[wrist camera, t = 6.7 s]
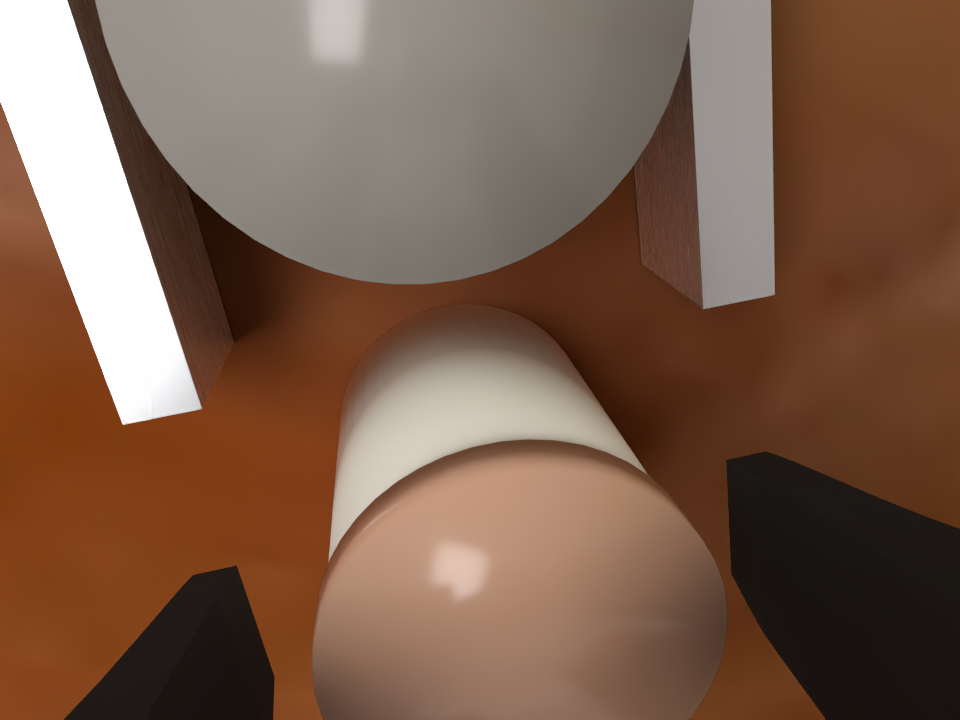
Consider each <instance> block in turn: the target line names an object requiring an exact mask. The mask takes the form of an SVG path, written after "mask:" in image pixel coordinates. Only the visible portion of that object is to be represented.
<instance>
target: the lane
mask: <svg viewBox="0 0 960 720" xmlns="http://www.w3.org/2000/svg"><path fill="white" fill-rule="evenodd" d="M0 101H1V103H2V106H3V108H4V111H5V114H6V116H7V119H8V122H9V124H10V127H11V130H12V132H13V135H14V138H15V140H16V143H17V146H18V148H19V151H20V153H21V156H22V159H23V161H24V164H25V167H26V169H27V172H28V175H29V177H30V180H31V183H32V185H33V188H34V191H35V193H36V196H37V198H38V201H39V204H40V206H41V209H42V212H43V214H44V217H45V220H46V222H47V225H48V228H49V230H50V233H51V236H52V238H53V241H54V244H55V246H56V249H57V251H58V254H59V257H60V259H61V262H62V265H63V267H64V270H65V273H66V275H67V278H68V281H69V283H70V286H71V289H72V291H73V294H74V296H75V299H76V302H77V304H78V307H79V310H80V312H81V315H82V318H83V320H84V323H85V326H86V328H87V331H88V334H89V336H90V339H91V341H92V344H93V347H94V349H95V352H96V355H97V357H98V360H99V363H100V365H101V368H102V371H103V373H104V376H105V379H106V381H107V384H108V387H109V389H110V392H111V394H112V397H113V400H114V402H115V405H116V408H117V410H118V413H119V416H120V418H121V421H122V424H123V425H124V424H129V423H134V422H139V421H144V420H149V419H154V418H159V417H164V416H169V415H174V414H179V413H184V412H189V411H194V410H199V409H202V408H203V406H204V404H205V402H206V400H207V398H208V396H209V394H210V392H211V390H212V388H213V386H214V384H215V381H216V379H217V377H218V375H219V373H220V371H221V369H222V367H223V365H224V363H225V361H226V359H227V357H228V355H229V353H230V351H231V349H232V347H233V345H234V340H233V337H232V333H231V330H230V327H229V323H228V320H227V317H226V313H225V310H224V307H223V303H222V300H221V297H220V293H219V290H218V287H217V284H216V280H215V277H214V274H213V270H212V267H211V264H210V260H209V257H208V254H207V250H206V247H205V244H204V240H203V237H202V234H201V231H200V227H199V224H198V221H197V217H196V214H195V211H194V207H193V204H192V201H191V197H190V194H189V191H188V187H187V184H186V182H185V181H184V179H183V178H182V177H181V176H180V175H179V174H178V173H177V171H176V170H175V169H174V168H173V167H172V166H171V165H170V163H169V162H168V161H167V160H166V159H165V157H164V156H163V154H162V153H161V151H160V150H159V148H158V147H157V145H156V144H155V143H154V141H153V140H152V138H151V137H150V135H149V134H148V132H147V131H146V129H145V128H144V126H143V125H142V123H141V121H140V119H139V117H138V116H137V114H136V112H135V110H134V108H133V106H132V104H131V102H130V100H129V98H128V97H127V95H126V93H125V91H124V89H123V87H122V85H121V82H120V79H119V77H118V74H117V72H116V69H115V66H114V64H113V61H112V59H111V56H110V53H109V51H108V48H107V46H106V42H105V38H104V34H103V30H102V26H101V22H100V18H99V15H98V11H97V7H96V3H95V0H0ZM634 176H635V188H636V200H637V212H638V225H639V237H640V249H641V261H642V265H644V266H645V267H646V268H648V269H649V270H650V271H652V272H653V273H655V274H656V275H657V276H659V277H660V278H661V279H663V280H664V281H665V282H667V283H668V284H670V285H671V286H672V287H674V288H675V289H676V290H678V291H679V292H681V293H682V294H683V295H685V296H686V297H687V298H689V299H690V300H691V301H693V302H694V303H696V304H697V305H698V306H700V307H701V308H702V309H706V308H711V307H716V306H721V305H726V304H731V303H736V302H742V301H747V300H752V299H757V298H762V297H767V296H772V295H775V269H774V198H773V126H772V54H771V0H694V4H693V12H692V21H691V29H690V33H689V37H688V42H687V46H686V50H685V54H684V58H683V62H682V67H681V70H680V73H679V76H678V78H677V81H676V84H675V87H674V89H673V92H672V95H671V98H670V100H669V103H668V106H667V108H666V110H665V112H664V114H663V116H662V118H661V120H660V122H659V124H658V126H657V128H656V130H655V132H654V134H653V136H652V138H651V139H650V141H649V142H648V144H647V146H646V147H645V149H644V150H643V152H642V153H641V155H640V156H639V158H638V159H637V161H636V162H635V164H634Z"/></svg>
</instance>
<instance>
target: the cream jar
mask: <svg viewBox="0 0 960 720" xmlns="http://www.w3.org/2000/svg"><path fill="white" fill-rule="evenodd" d="M727 626H728V617H727V600H726V595H725V590H724V585H723V580H722V578H721V575H720V573H719V570H718V567H717V565H716V562H715V560H714V558H713V557H712V555H711V553H710V552H709V550H708V548H707V546H706V545H705V543H704V541H703V540H702V539H701V537H700V536H699V534H698V533H697V531H696V530H695V529H694V527H693V526H692V524H691V523H690V521H689V520H688V519H687V517H686V516H685V514H684V513H683V512H682V510H681V509H680V507H679V506H678V505H677V504H676V502H675V501H674V500H673V499H672V498H671V496H670V495H669V494H668V493H667V492H666V490H665V489H664V488H662V487H661V486H660V485H659V484H658V483H657V482H656V481H655V480H653V479H652V478H651V477H650V476H649V475H648V474H647V473H646V471H645V470H644V468H643V467H642V465H641V464H640V462H639V461H638V459H637V458H636V456H635V455H634V453H633V452H632V450H631V449H630V448H629V446H628V445H627V443H626V442H625V440H624V439H623V437H622V436H621V434H620V433H619V431H618V430H617V428H616V427H615V425H614V424H613V423H612V421H611V420H610V418H609V417H608V415H607V414H606V412H605V411H604V409H603V408H602V406H601V405H600V403H599V402H598V401H597V399H596V398H595V396H594V395H593V393H592V392H591V390H590V389H589V387H588V386H587V384H586V383H585V381H584V380H583V378H582V377H581V376H580V374H579V373H578V371H577V370H576V368H575V367H574V365H573V364H572V362H571V361H570V359H569V358H568V356H567V355H566V353H565V352H564V351H563V349H562V348H561V347H560V346H559V345H558V343H557V342H556V341H555V340H554V339H553V338H552V337H551V336H550V335H549V334H548V333H547V332H546V331H544V330H543V329H542V328H541V327H539V326H538V325H536V324H535V323H533V322H532V321H530V320H528V319H526V318H524V317H522V316H520V315H518V314H516V313H513V312H510V311H507V310H504V309H501V308H497V307H492V306H487V305H475V304H462V305H450V306H444V307H439V308H434V309H431V310H428V311H425V312H422V313H419V314H417V315H414V316H412V317H410V318H408V319H406V320H404V321H402V322H401V323H399V324H397V325H396V326H394V327H393V328H391V329H389V330H388V331H387V332H386V333H385V334H383V335H382V336H381V337H380V338H379V339H377V340H376V341H375V342H374V344H373V345H372V346H371V347H370V348H369V349H368V350H367V351H366V352H365V354H364V355H363V356H362V358H361V359H360V361H359V362H358V363H357V365H356V367H355V369H354V371H353V373H352V375H351V376H350V378H349V381H348V384H347V387H346V390H345V392H344V397H343V402H342V407H341V418H340V430H339V442H338V454H337V466H336V478H335V490H334V502H333V514H332V526H331V538H330V550H329V562H328V566H327V568H326V571H325V574H324V576H323V579H322V582H321V587H320V592H319V596H318V601H317V609H316V620H315V630H314V640H313V654H312V676H313V684H314V692H315V696H316V699H317V702H318V705H319V709H320V712H321V715H322V717H323V719H324V720H689V719H690V717H691V716H692V715H693V713H694V712H695V711H696V709H697V708H698V707H699V705H700V704H701V702H702V700H703V699H704V697H705V695H706V693H707V692H708V690H709V688H710V687H711V684H712V682H713V680H714V677H715V675H716V673H717V670H718V668H719V665H720V662H721V658H722V655H723V651H724V647H725V642H726V634H727Z"/></svg>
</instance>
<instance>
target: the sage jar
mask: <svg viewBox="0 0 960 720" xmlns="http://www.w3.org/2000/svg"><path fill="white" fill-rule="evenodd" d="M95 3H96V7H97V11H98V15H99V18H100V22H101V26H102V30H103V34H104V38H105V42H106V46H107V48H108V51H109V53H110V56H111V59H112V61H113V64H114V66H115V69H116V72H117V74H118V77H119V79H120V82H121V85H122V87H123V89H124V91H125V93H126V95H127V97H128V98H129V100H130V102H131V104H132V106H133V108H134V110H135V112H136V114H137V116H138V117H139V119H140V121H141V123H142V125H143V126H144V128H145V129H146V131H147V132H148V134H149V135H150V137H151V138H152V140H153V141H154V143H155V144H156V145H157V147H158V148H159V150H160V151H161V153H162V154H163V156H164V157H165V159H166V160H167V161H168V162H169V163H170V165H171V166H172V167H173V168H174V169H175V170H176V171H177V173H178V174H179V175H180V176H181V177H182V178H183V179H184V181H185V182H186V183H187V184H188V185H189V186H190V187H191V189H192V190H193V191H194V192H195V193H196V194H198V195H199V196H200V197H201V198H202V199H203V200H204V201H205V202H206V203H207V204H209V205H210V206H211V207H212V208H213V209H214V210H215V211H216V212H217V213H219V214H220V215H221V216H222V217H223V218H224V219H226V220H227V221H229V222H230V223H231V224H233V225H234V226H236V227H237V228H239V229H240V230H241V231H243V232H244V233H246V234H247V235H248V236H250V237H251V238H253V239H254V240H256V241H258V242H260V243H261V244H263V245H265V246H267V247H269V248H271V249H272V250H274V251H276V252H278V253H280V254H282V255H284V256H285V257H287V258H290V259H292V260H295V261H297V262H300V263H302V264H305V265H308V266H310V267H313V268H315V269H318V270H320V271H324V272H328V273H331V274H335V275H339V276H343V277H347V278H351V279H355V280H362V281H370V282H377V283H385V284H430V283H438V282H446V281H454V280H460V279H464V278H468V277H472V276H476V275H479V274H483V273H487V272H491V271H494V270H496V269H499V268H501V267H504V266H506V265H509V264H511V263H514V262H516V261H519V260H521V259H524V258H526V257H527V256H529V255H531V254H533V253H535V252H536V251H538V250H540V249H542V248H544V247H545V246H547V245H549V244H551V243H553V242H554V241H556V240H557V239H558V238H560V237H561V236H562V235H564V234H565V233H567V232H568V231H569V230H571V229H572V228H573V227H575V226H576V225H578V224H579V223H580V222H582V221H583V220H584V219H585V218H586V217H587V216H588V215H589V214H590V213H591V212H592V211H593V210H594V209H596V208H597V207H598V206H599V205H600V204H601V203H602V202H603V201H604V200H605V199H606V198H607V197H608V196H609V195H610V194H611V193H612V191H613V190H614V189H615V188H616V187H617V185H618V184H619V183H620V182H621V181H622V179H623V178H624V177H625V176H626V175H627V173H628V172H629V171H630V170H631V168H632V167H633V165H634V164H635V162H636V161H637V159H638V158H639V156H640V155H641V153H642V152H643V150H644V149H645V147H646V146H647V144H648V142H649V141H650V139H651V138H652V136H653V134H654V132H655V130H656V128H657V126H658V124H659V122H660V120H661V118H662V116H663V114H664V112H665V110H666V108H667V106H668V103H669V100H670V98H671V95H672V92H673V89H674V87H675V84H676V81H677V78H678V76H679V73H680V70H681V67H682V62H683V58H684V54H685V50H686V46H687V42H688V37H689V33H690V29H691V21H692V12H693V4H694V0H95Z"/></svg>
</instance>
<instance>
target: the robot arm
mask: <svg viewBox="0 0 960 720" xmlns="http://www.w3.org/2000/svg"><path fill="white" fill-rule="evenodd" d="M726 461H727V484H728V506H729V528H730V551H731V573H732V576H733V578H734V579H735V581H736V583H737V585H738V587H739V589H740V591H741V593H742V595H743V597H744V598H745V600H746V602H747V604H748V606H749V608H750V610H751V611H752V613H753V615H754V617H755V618H756V620H757V622H758V624H759V626H760V627H761V629H762V631H763V633H764V634H765V635H766V637H767V638H768V640H769V641H770V643H771V644H772V645H773V647H774V648H775V650H776V651H777V652H778V654H779V655H780V657H781V658H782V659H783V661H784V662H785V664H786V665H787V666H788V668H789V669H790V670H791V672H792V673H793V675H794V676H795V677H796V679H797V680H798V682H799V683H800V684H801V686H802V687H803V688H804V690H805V691H806V692H807V694H808V695H809V697H810V698H811V699H812V701H813V702H814V703H815V705H816V706H817V707H818V709H819V710H820V712H821V713H822V714H823V716H824V717H825V718H826V720H960V529H958V528H955V527H952V526H950V525H947V524H944V523H941V522H939V521H936V520H933V519H930V518H928V517H925V516H923V515H920V514H918V513H915V512H912V511H910V510H907V509H905V508H902V507H900V506H897V505H895V504H892V503H890V502H888V501H885V500H883V499H880V498H878V497H876V496H873V495H871V494H868V493H866V492H864V491H861V490H859V489H857V488H854V487H852V486H849V485H847V484H845V483H842V482H840V481H838V480H835V479H833V478H831V477H829V476H826V475H824V474H822V473H819V472H817V471H815V470H812V469H810V468H807V467H805V466H803V465H800V464H798V463H795V462H793V461H790V460H788V459H785V458H783V457H780V456H777V455H775V454H772V453H769V452H762V453H757V454H753V455H748V456H744V457H739V458H734V459H730V460H726ZM273 703H274V675H273V672H272V669H271V666H270V663H269V660H268V657H267V654H266V651H265V648H264V645H263V642H262V639H261V636H260V633H259V630H258V627H257V624H256V621H255V619H254V616H253V613H252V610H251V607H250V604H249V601H248V598H247V595H246V592H245V589H244V586H243V583H242V580H241V577H240V574H239V571H238V568H237V566H233V567H229V568H224V569H219V570H215V571H210V572H205V573H201V574H196V575H193V576H192V577H191V578H190V579H189V580H188V581H187V582H186V583H185V584H184V585H183V587H182V588H181V589H180V590H179V591H178V592H177V593H176V594H175V596H174V597H173V598H172V599H171V600H170V601H169V602H168V604H167V605H166V606H165V607H164V608H163V609H162V611H161V612H160V613H159V614H158V615H157V616H156V618H155V619H154V620H153V621H152V622H151V623H150V625H149V626H148V627H147V628H146V629H145V630H144V632H143V633H142V634H141V635H140V636H139V637H138V639H137V640H136V641H135V642H134V643H133V644H132V645H131V647H130V648H129V649H128V650H127V651H126V652H125V653H124V655H123V656H122V657H121V658H120V659H119V660H118V661H117V663H116V664H115V665H114V666H113V667H112V668H111V669H110V671H109V672H108V673H107V674H106V675H105V676H104V677H103V679H102V680H101V681H100V682H99V683H98V684H97V685H96V686H95V687H94V688H93V689H92V690H91V691H90V693H89V694H88V695H87V696H86V697H85V698H84V699H83V700H82V701H81V702H80V703H79V704H78V705H77V706H76V707H75V708H74V709H73V710H72V711H71V713H70V714H69V715H68V716H67V717H66V718H65V719H64V720H273Z"/></svg>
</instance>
